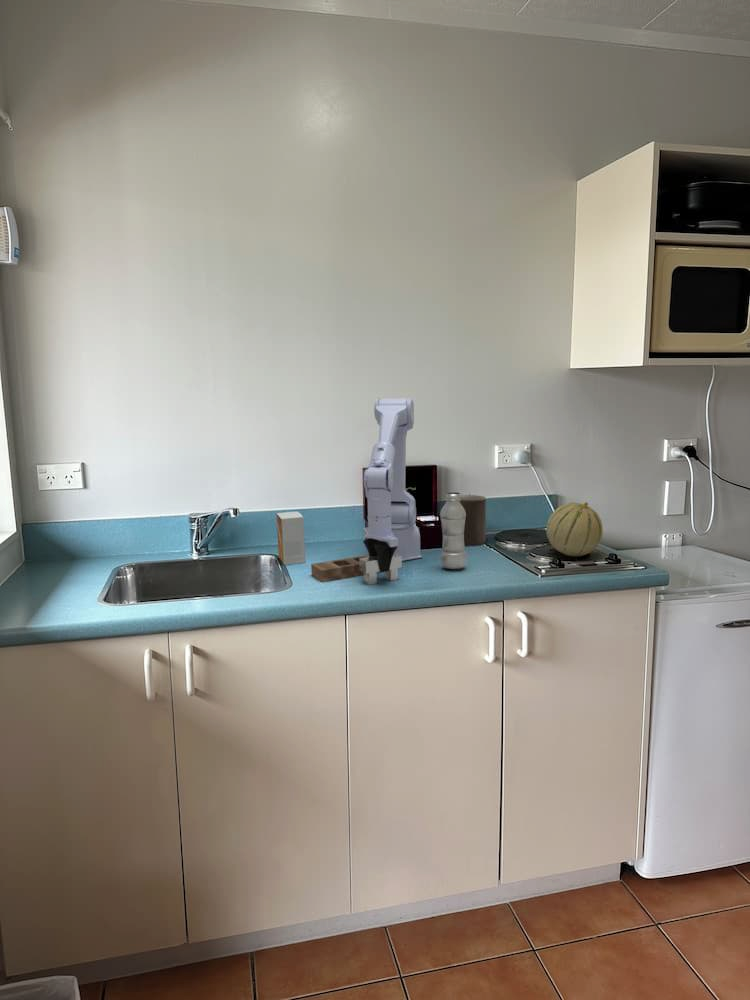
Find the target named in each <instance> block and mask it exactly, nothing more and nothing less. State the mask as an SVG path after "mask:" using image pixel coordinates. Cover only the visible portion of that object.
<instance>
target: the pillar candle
mask: <svg viewBox="0 0 750 1000" xmlns="http://www.w3.org/2000/svg"><path fill="white" fill-rule="evenodd" d="M460 498H461V500H460V504H461V505H462V506H463V508H464V510H465V512H466V517H465V525H464V546H468V547H469V546H471V547H474V546H481V545H485V544H486V518H487V517H486V515H487V513H486V512H487V509H486V508H487V498H486V496H484V495H476V494H475V495H474V494H470V492H469V493H468V495H467V494H460Z"/></svg>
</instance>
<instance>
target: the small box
mask: <svg viewBox="0 0 750 1000" xmlns="http://www.w3.org/2000/svg"><path fill="white" fill-rule="evenodd" d="M304 520H305V518H304V516H303V515H302V513H301V512H299V511H286V512H277V513H276V525H277V526H276V530H277V546H278V547H277V549H278V550H277V551H278V558H279V559H280V561H281V563H282V564H283V565H284V566H286V565H288V566H289V565H294V564H295V565H297V564H304V563H306V562H307V560H306V542H305V541H306V539H305V537H306V536H305V521H304Z"/></svg>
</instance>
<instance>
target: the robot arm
mask: <svg viewBox="0 0 750 1000" xmlns="http://www.w3.org/2000/svg"><path fill="white" fill-rule="evenodd" d="M374 401H375V402H374V404H373V405H374V406H373V408H374V409H373V410H374V411H373V413H374V418H375V420H376V424H378V426H379V432H378V442H376V443H375V444H373V447H372V451H371V456H370V460H369V465H368V468H365V470H364V473H363V485H364V490H365V498H367V526H368V527H363V528H362V529H363V530H362V533H363V536H364V538H365V539H364V540H363V544H364V546H365V548H366V550H367V552H368V555H369V556H370V557H371V556H377V555H378V559H379V567H380V571H381V572H380V573H385V571H389V569H390V565H391V560H392V557H393V554H394V553H396V554H399V555H401V556H402V562H405V561H411V560H415V559H416V560H417V559H421V558H422V557H423V556H422V555H421V534H420V529H419V527H418V526H417V525H415V524H416V519H417V507H416V499H415V497H414V496H413V495H412V494H410V493H409V492H408V491H407V490H406V472H407V471H406V463H407V462H406V461H407V460H406V458H407V454H406V453H407V451H406V450H407V447H406V446H407V442H406V441H407V435H408V431H410V430H412V429H413V428H414V425H415V424H414V423H415V404H414V399H412V398H411V397H407V398H405V397H404V398H401V397H399V398H398V397H397V398H380V397H379V398H378V397H377V398H376V400H374Z"/></svg>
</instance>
